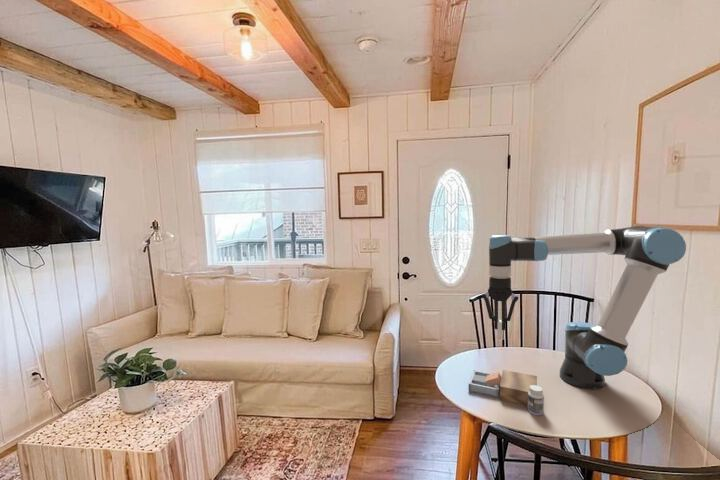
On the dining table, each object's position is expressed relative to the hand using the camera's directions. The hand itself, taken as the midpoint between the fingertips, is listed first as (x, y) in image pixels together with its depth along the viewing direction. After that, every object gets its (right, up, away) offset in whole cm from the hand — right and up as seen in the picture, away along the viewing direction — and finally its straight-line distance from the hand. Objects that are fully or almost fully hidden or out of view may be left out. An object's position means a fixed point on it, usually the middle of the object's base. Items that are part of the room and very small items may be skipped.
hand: (499, 337), depth 127 cm
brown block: (+6, -21, -2) cm, 22 cm away
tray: (-4, -20, +4) cm, 21 cm away
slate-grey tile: (-6, -17, +4) cm, 19 cm away
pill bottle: (+7, -22, -13) cm, 26 cm away
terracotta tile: (-1, -18, +2) cm, 18 cm away
